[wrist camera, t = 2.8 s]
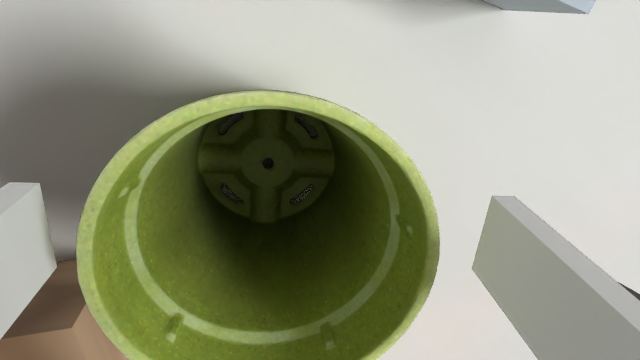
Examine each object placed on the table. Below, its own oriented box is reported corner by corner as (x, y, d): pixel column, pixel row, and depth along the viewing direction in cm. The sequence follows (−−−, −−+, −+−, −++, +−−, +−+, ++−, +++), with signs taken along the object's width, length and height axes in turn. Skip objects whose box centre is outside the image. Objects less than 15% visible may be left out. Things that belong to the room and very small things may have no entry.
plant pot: (111, 158, 18) (-10, 284, 10) (265, -3, 16) (266, -4, 8) (266, 278, 21) (268, 442, 14) (408, 156, 20) (505, 263, 12)
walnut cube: (45, 347, 22) (-14, 441, 17) (6, 268, 19) (-73, 350, 15) (143, 331, 22) (112, 419, 17) (116, 252, 20) (71, 328, 15)
